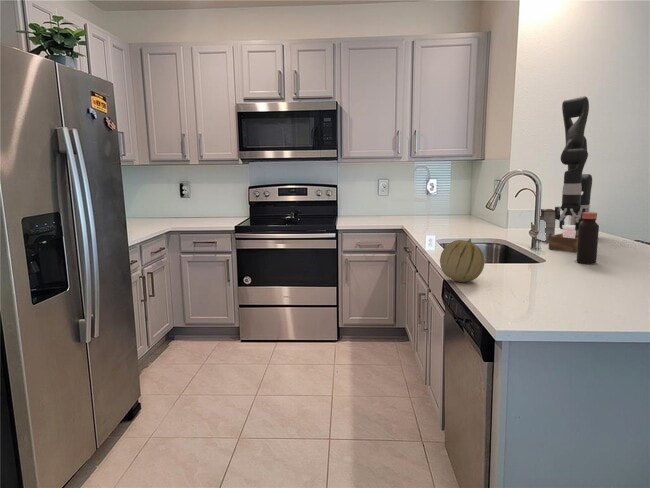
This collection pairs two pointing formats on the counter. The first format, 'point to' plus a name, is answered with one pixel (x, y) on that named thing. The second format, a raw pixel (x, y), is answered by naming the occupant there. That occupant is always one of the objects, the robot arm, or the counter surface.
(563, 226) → the beverage cup
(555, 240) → the wooden square frame
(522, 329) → the counter surface
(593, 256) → the bottle
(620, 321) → the counter surface
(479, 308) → the counter surface
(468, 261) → the cantaloupe
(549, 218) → the coffee box
